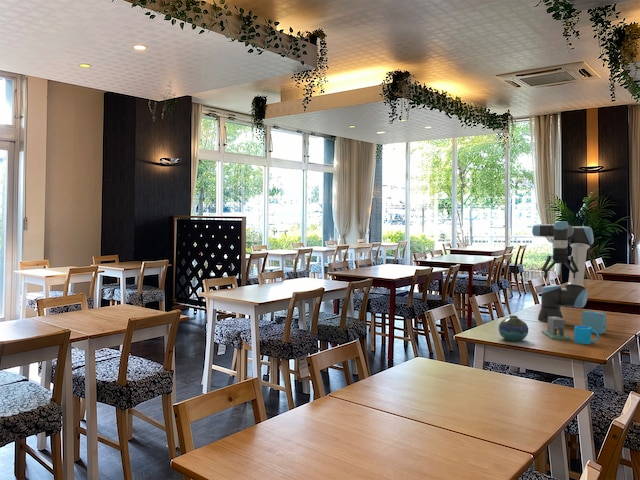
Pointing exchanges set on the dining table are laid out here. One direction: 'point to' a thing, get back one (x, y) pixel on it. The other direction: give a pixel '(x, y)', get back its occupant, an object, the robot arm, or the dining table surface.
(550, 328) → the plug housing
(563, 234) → the robot arm
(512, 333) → the vase
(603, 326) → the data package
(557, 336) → the header board
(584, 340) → the mug
